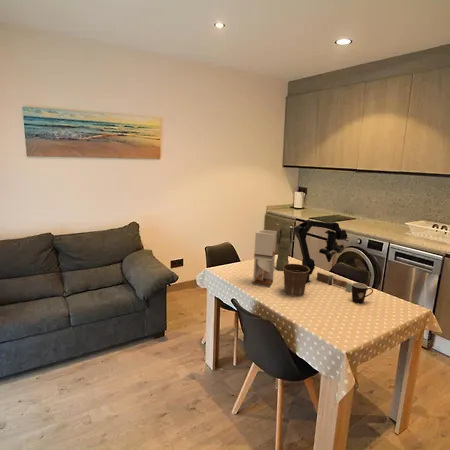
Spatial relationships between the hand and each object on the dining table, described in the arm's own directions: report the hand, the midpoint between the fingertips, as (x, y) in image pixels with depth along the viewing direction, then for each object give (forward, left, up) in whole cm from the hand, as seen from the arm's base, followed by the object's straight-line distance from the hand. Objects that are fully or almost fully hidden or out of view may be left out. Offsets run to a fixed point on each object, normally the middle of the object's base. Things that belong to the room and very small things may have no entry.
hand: (328, 261), depth 228 cm
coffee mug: (-18, -32, -13) cm, 39 cm away
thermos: (-8, +33, -13) cm, 36 cm away
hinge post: (-7, -2, -13) cm, 15 cm away
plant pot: (-38, +1, -13) cm, 40 cm away
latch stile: (-9, -20, -13) cm, 25 cm away
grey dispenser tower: (-42, +23, -13) cm, 49 cm away
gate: (-7, -15, -12) cm, 20 cm away
